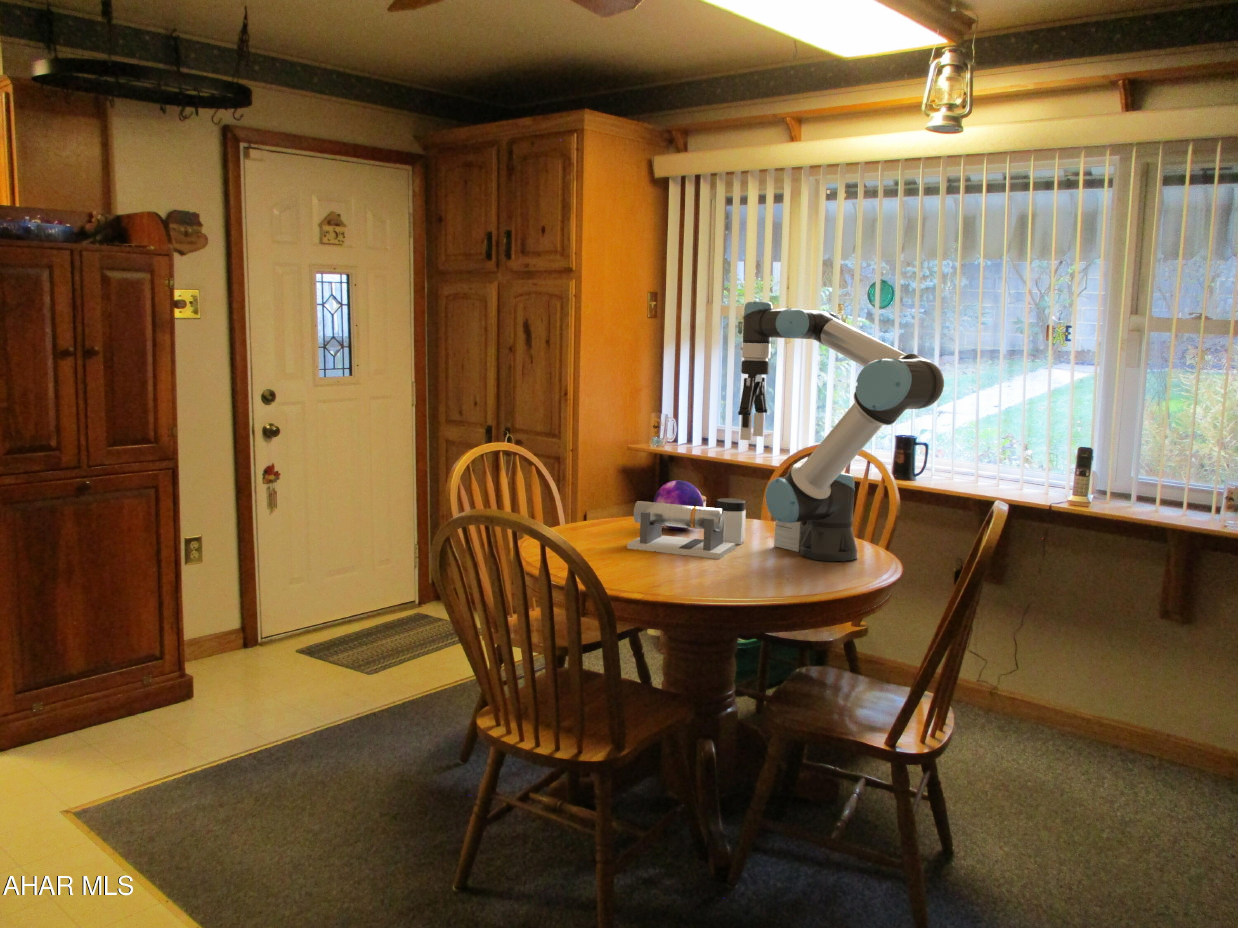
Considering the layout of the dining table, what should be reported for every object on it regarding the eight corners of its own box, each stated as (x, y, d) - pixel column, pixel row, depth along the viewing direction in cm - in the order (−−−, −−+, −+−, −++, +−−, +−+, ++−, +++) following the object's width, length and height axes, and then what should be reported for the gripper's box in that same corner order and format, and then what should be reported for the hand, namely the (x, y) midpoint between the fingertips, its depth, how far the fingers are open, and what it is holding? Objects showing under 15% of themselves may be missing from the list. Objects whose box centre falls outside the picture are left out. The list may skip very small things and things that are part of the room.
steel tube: (724, 522, 262) (722, 504, 259) (718, 535, 257) (716, 517, 254) (642, 514, 271) (639, 496, 268) (635, 526, 266) (632, 508, 263)
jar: (750, 543, 273) (752, 501, 272) (730, 546, 268) (732, 503, 267) (728, 537, 280) (729, 497, 279) (708, 540, 275) (709, 499, 274)
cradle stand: (734, 548, 265) (736, 512, 264) (719, 558, 251) (721, 521, 250) (646, 538, 275) (647, 504, 273) (627, 548, 261) (628, 512, 260)
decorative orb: (646, 525, 295) (647, 477, 294) (691, 524, 300) (693, 476, 298) (662, 535, 281) (664, 484, 279) (710, 533, 286) (712, 483, 284)
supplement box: (798, 552, 263) (801, 491, 261) (772, 546, 270) (775, 487, 268) (820, 548, 269) (824, 489, 267) (795, 542, 276) (798, 484, 274)
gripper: (753, 359, 272) (750, 434, 274) (729, 359, 249) (726, 440, 252) (779, 360, 269) (775, 435, 272) (757, 360, 246) (754, 442, 249)
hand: (751, 438), depth 262 cm, fingers open, 13 cm apart
